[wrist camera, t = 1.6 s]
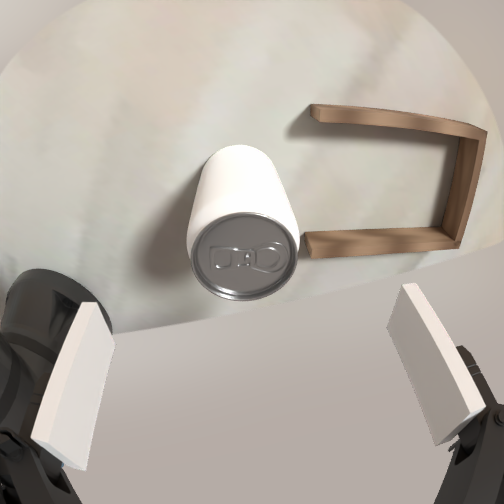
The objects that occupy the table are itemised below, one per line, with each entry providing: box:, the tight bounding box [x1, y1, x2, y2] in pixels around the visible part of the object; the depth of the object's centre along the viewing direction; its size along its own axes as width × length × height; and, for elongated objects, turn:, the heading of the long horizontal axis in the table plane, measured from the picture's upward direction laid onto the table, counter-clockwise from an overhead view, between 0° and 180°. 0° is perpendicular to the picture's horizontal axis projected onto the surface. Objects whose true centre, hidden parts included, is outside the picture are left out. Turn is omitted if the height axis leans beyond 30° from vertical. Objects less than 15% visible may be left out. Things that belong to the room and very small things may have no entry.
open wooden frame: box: [305, 104, 487, 259], centre depth 26 cm, size 17×13×3 cm
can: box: [187, 145, 300, 301], centre depth 21 cm, size 6×6×12 cm
